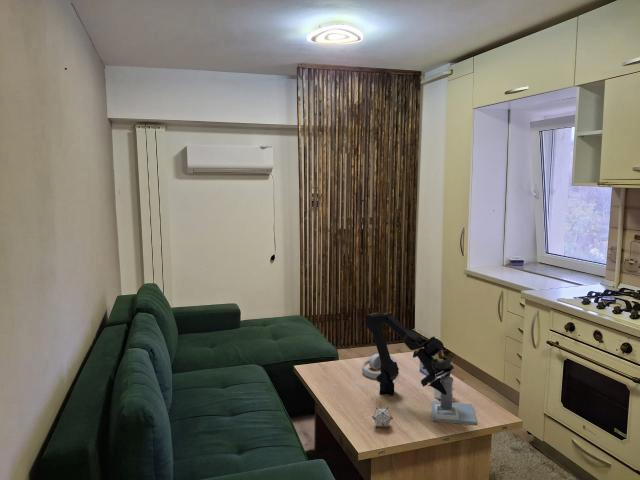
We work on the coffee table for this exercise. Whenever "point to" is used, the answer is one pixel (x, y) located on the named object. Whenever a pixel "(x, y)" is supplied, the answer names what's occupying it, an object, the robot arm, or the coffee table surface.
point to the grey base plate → (454, 413)
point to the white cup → (437, 392)
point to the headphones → (373, 366)
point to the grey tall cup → (448, 386)
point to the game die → (382, 417)
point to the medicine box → (423, 369)
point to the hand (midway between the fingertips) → (449, 392)
